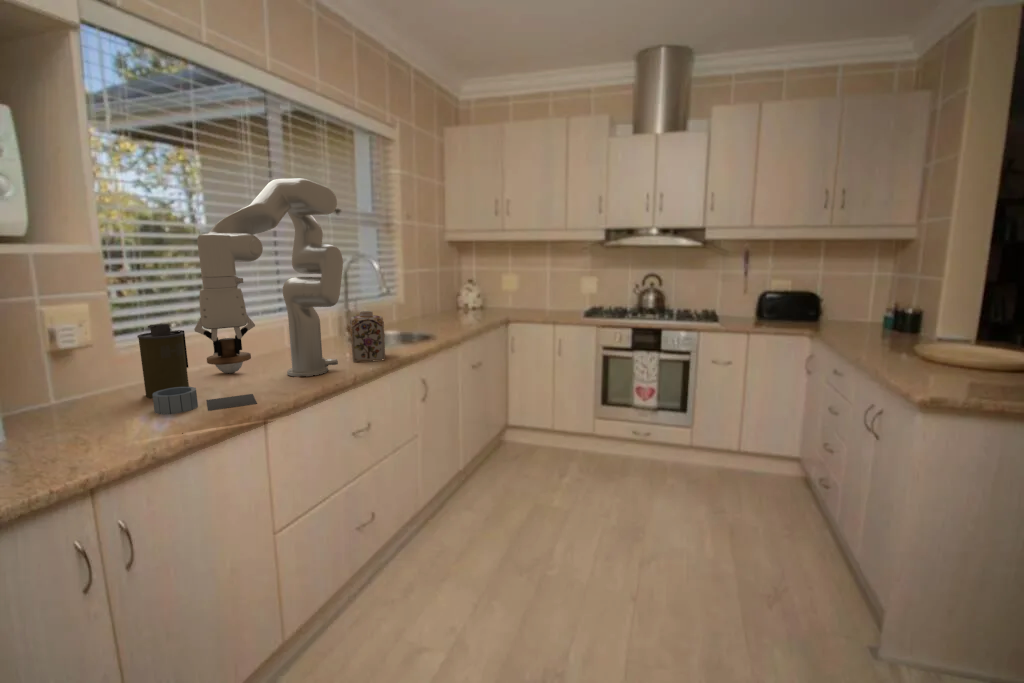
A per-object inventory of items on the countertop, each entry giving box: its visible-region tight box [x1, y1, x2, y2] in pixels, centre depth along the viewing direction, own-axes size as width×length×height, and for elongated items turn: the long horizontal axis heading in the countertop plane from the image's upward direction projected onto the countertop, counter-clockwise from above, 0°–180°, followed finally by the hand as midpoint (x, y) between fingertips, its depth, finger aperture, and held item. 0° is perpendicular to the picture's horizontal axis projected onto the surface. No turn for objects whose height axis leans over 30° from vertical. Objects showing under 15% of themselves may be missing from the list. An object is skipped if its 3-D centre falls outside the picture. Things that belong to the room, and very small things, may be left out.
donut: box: [212, 352, 244, 374], centre depth 162 cm, size 10×4×10 cm, turn 81°
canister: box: [137, 323, 190, 399], centre depth 136 cm, size 11×10×20 cm
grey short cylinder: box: [152, 386, 199, 415], centre depth 124 cm, size 9×9×5 cm
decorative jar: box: [349, 310, 386, 363], centre depth 186 cm, size 12×12×18 cm
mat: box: [206, 393, 258, 412], centre depth 130 cm, size 11×11×1 cm
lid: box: [206, 337, 252, 366], centre depth 128 cm, size 10×10×6 cm
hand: (228, 353), depth 128 cm, fingers closed on lid, 3 cm apart
